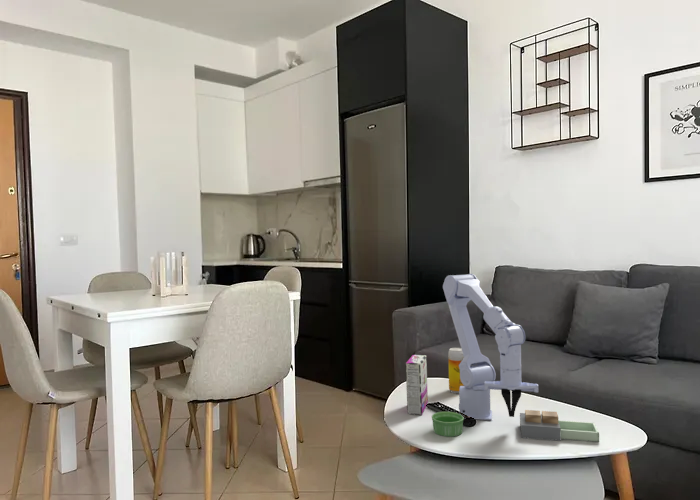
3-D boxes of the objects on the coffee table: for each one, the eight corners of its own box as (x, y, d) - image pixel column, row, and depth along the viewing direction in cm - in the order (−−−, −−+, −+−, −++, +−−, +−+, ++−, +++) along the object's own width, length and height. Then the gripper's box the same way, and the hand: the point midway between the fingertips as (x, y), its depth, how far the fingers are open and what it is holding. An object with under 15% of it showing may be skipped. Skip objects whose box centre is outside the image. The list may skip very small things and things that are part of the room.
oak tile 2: (542, 422, 146) (542, 415, 146) (541, 417, 150) (541, 410, 150) (558, 423, 145) (558, 416, 145) (556, 418, 149) (556, 411, 148)
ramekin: (432, 425, 156) (431, 410, 155) (463, 426, 154) (463, 411, 154) (431, 437, 147) (431, 421, 147) (464, 438, 145) (464, 422, 145)
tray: (561, 439, 143) (561, 429, 143) (558, 429, 150) (557, 420, 150) (599, 442, 140) (599, 432, 140) (594, 431, 148) (594, 422, 148)
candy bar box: (413, 403, 176) (412, 354, 176) (428, 404, 174) (427, 355, 174) (406, 414, 165) (405, 362, 165) (421, 415, 164) (420, 363, 163)
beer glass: (462, 394, 184) (461, 351, 183) (446, 392, 187) (445, 350, 187) (468, 390, 189) (468, 348, 188) (452, 387, 192) (452, 346, 192)
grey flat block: (521, 437, 145) (521, 425, 144) (520, 424, 154) (519, 412, 154) (560, 440, 142) (560, 427, 142) (556, 427, 152) (556, 415, 151)
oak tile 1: (525, 421, 147) (525, 414, 147) (525, 416, 151) (525, 409, 151) (541, 422, 146) (540, 415, 146) (539, 417, 150) (539, 410, 150)
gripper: (484, 370, 148) (484, 418, 148) (538, 372, 144) (539, 422, 144) (484, 364, 154) (485, 410, 155) (536, 366, 150) (537, 413, 151)
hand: (511, 415), depth 150 cm, fingers closed
